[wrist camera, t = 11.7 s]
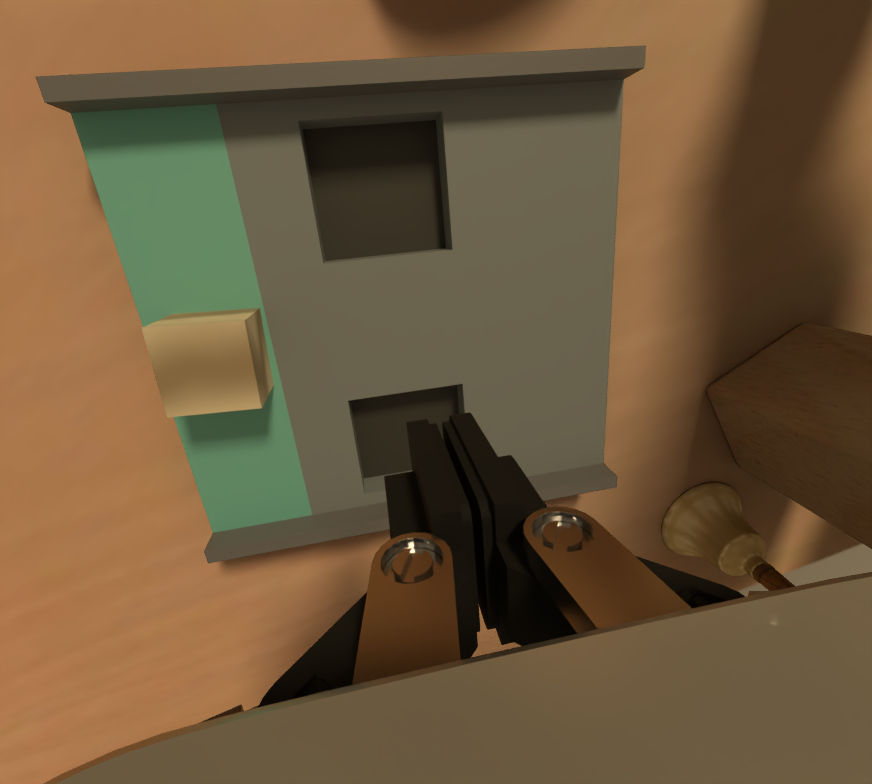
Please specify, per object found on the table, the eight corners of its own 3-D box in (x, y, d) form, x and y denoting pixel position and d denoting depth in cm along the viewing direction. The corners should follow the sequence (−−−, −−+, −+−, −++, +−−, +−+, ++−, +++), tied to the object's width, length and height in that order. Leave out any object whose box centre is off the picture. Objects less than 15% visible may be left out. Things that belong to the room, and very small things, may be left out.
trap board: (90, 103, 24) (35, 76, 20) (602, 72, 28) (645, 45, 24) (226, 522, 34) (208, 563, 30) (587, 458, 38) (616, 487, 34)
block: (171, 314, 26) (141, 328, 22) (259, 308, 27) (244, 320, 23) (191, 392, 28) (167, 417, 24) (273, 385, 29) (261, 408, 25)
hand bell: (646, 547, 43) (799, 715, 28) (685, 474, 41) (874, 615, 26) (713, 558, 45) (887, 718, 30) (753, 489, 43) (964, 627, 28)
